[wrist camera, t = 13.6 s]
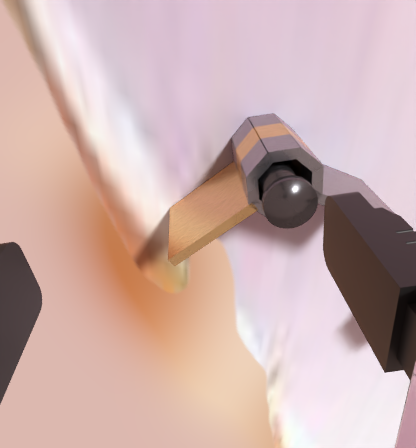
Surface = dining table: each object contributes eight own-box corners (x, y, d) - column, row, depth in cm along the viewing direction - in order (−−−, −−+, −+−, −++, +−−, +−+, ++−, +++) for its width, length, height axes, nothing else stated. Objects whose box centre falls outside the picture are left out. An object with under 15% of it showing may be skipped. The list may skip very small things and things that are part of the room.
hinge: (153, 131, 41) (147, 170, 32) (368, 99, 41) (422, 128, 32) (171, 214, 46) (169, 266, 37) (360, 185, 46) (404, 232, 37)
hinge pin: (238, 129, 41) (262, 184, 29) (278, 123, 41) (318, 176, 29) (241, 166, 44) (265, 231, 32) (279, 161, 44) (317, 224, 32)
